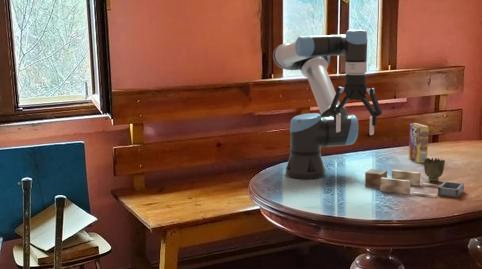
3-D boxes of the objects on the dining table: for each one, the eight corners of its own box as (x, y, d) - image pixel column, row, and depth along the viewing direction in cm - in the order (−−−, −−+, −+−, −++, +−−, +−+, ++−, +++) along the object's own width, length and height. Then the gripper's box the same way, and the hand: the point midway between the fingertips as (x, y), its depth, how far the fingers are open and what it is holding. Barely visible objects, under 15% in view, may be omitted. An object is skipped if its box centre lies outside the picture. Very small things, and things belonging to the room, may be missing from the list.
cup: (441, 184, 224) (441, 163, 223) (420, 182, 228) (421, 160, 226) (446, 180, 230) (447, 158, 229) (426, 177, 234) (427, 156, 233)
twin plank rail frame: (380, 190, 218) (380, 178, 217) (392, 181, 230) (393, 169, 229) (435, 197, 208) (436, 184, 208) (445, 187, 220) (446, 175, 219)
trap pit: (437, 195, 211) (438, 187, 210) (444, 189, 218) (444, 181, 218) (457, 198, 208) (458, 189, 207) (463, 191, 215) (463, 183, 215)
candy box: (428, 162, 258) (429, 126, 255) (418, 163, 257) (419, 126, 254) (417, 158, 266) (418, 122, 263) (408, 158, 265) (409, 123, 262)
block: (365, 186, 225) (365, 172, 224) (370, 182, 230) (371, 168, 229) (381, 188, 222) (381, 174, 221) (386, 184, 227) (387, 170, 226)
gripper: (320, 73, 226) (319, 132, 230) (385, 75, 214) (384, 137, 218) (328, 71, 232) (327, 128, 236) (392, 73, 220) (390, 133, 224)
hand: (354, 133), depth 227 cm, fingers open, 12 cm apart
